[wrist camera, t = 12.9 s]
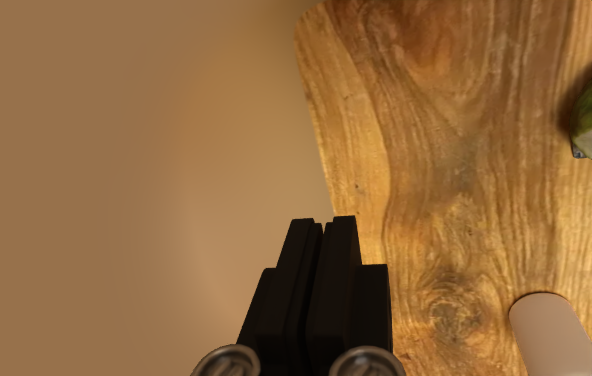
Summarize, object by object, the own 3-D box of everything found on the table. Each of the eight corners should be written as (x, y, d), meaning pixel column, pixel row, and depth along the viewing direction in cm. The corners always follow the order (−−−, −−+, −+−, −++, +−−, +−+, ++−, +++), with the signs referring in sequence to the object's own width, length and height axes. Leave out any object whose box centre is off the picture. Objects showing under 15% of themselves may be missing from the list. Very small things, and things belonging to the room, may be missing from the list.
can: (502, 330, 49) (536, 431, 38) (513, 288, 45) (552, 385, 35) (564, 335, 47) (615, 441, 37) (578, 292, 44) (639, 395, 34)
